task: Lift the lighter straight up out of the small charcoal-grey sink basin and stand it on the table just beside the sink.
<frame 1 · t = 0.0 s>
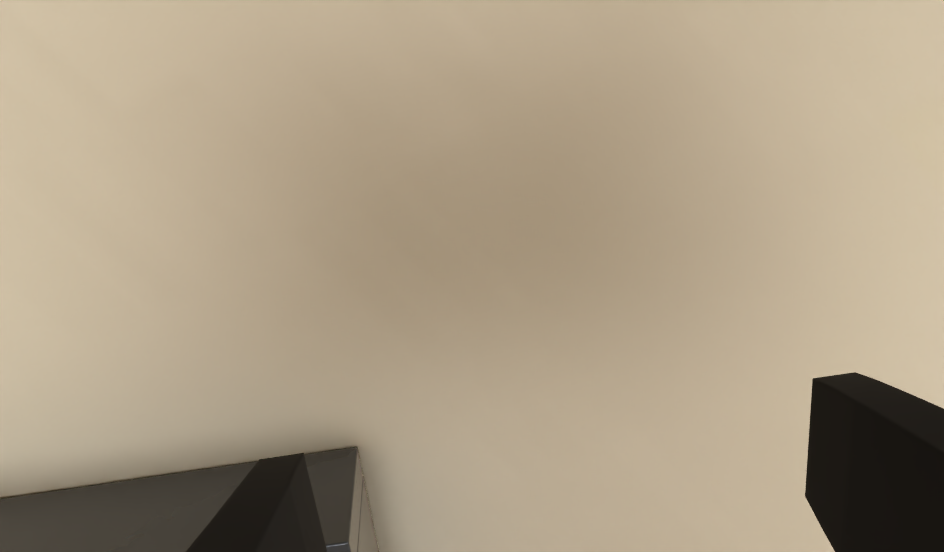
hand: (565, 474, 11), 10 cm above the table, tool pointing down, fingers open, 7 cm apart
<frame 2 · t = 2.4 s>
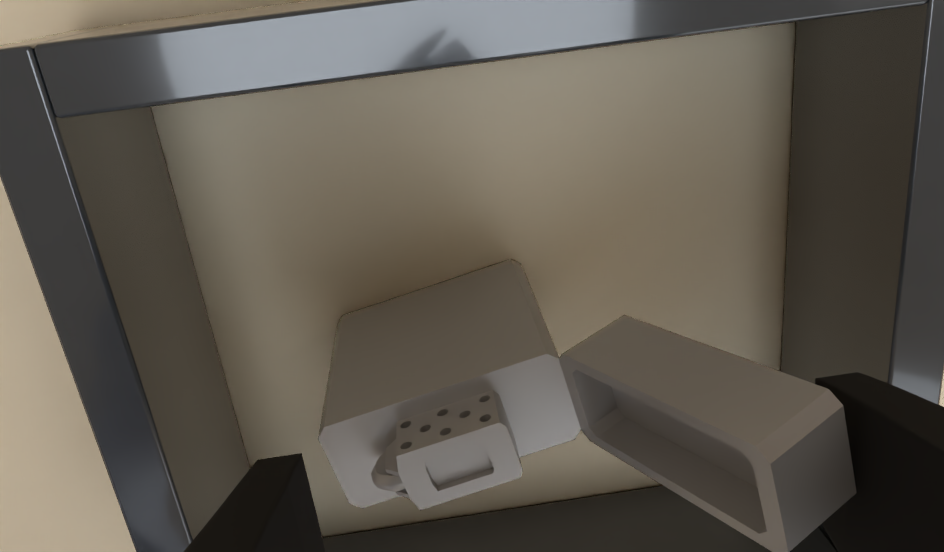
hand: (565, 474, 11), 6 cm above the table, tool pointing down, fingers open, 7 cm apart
lighter: (503, 296, 17), resting in sink, touching gripper
sink: (504, 300, 17), on the table
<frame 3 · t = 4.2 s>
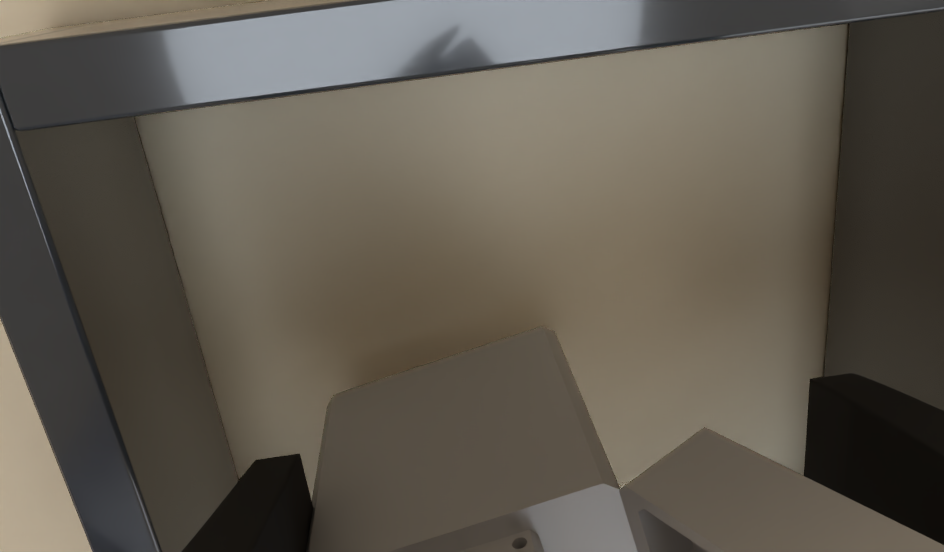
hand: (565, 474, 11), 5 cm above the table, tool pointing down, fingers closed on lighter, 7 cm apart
lighter: (531, 369, 14), point 2 cm above the table, touching gripper
sink: (522, 324, 15), on the table
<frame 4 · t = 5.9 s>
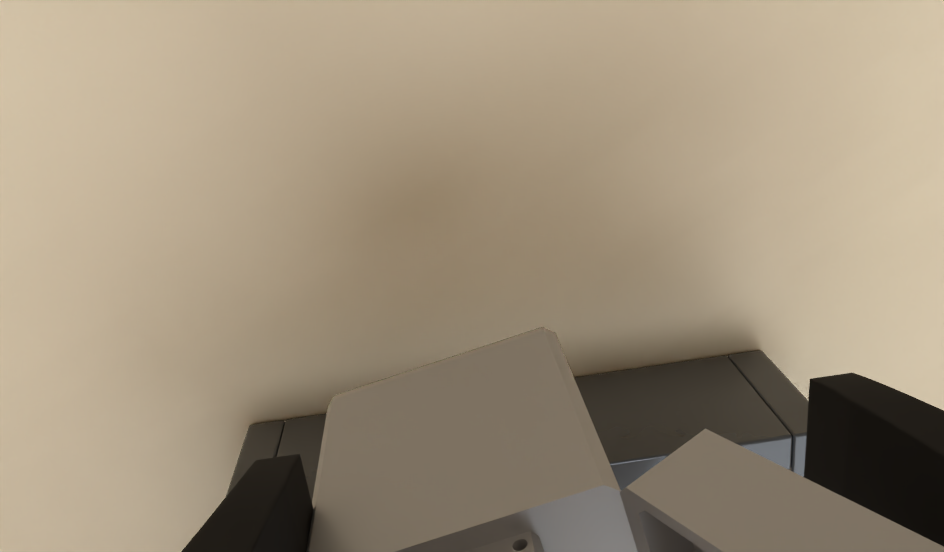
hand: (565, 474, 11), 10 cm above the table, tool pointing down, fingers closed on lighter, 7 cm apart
lighter: (532, 370, 14), point 7 cm above the table, touching gripper
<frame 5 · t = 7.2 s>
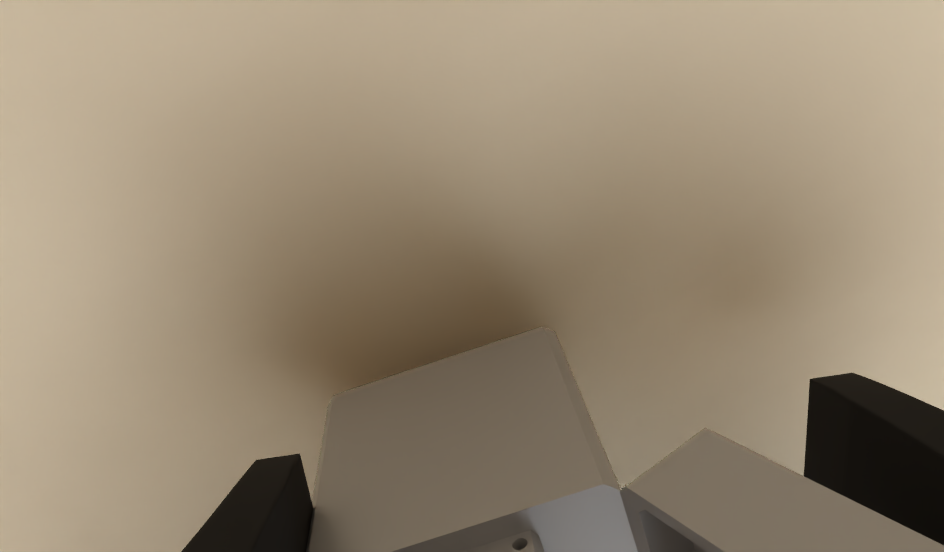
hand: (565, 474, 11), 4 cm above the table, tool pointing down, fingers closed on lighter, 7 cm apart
lighter: (531, 369, 14), point 1 cm above the table, touching gripper
when the fingers open (3 cm above the table, at t = 8.7 s): lighter stays where it is, on the table.
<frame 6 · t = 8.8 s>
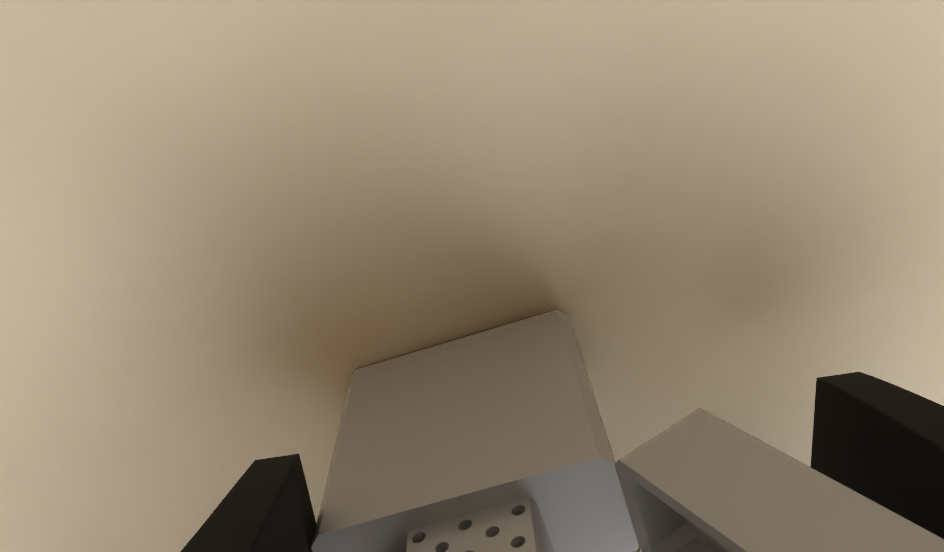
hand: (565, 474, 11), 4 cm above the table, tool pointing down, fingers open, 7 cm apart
lighter: (546, 351, 14), on the table, touching gripper
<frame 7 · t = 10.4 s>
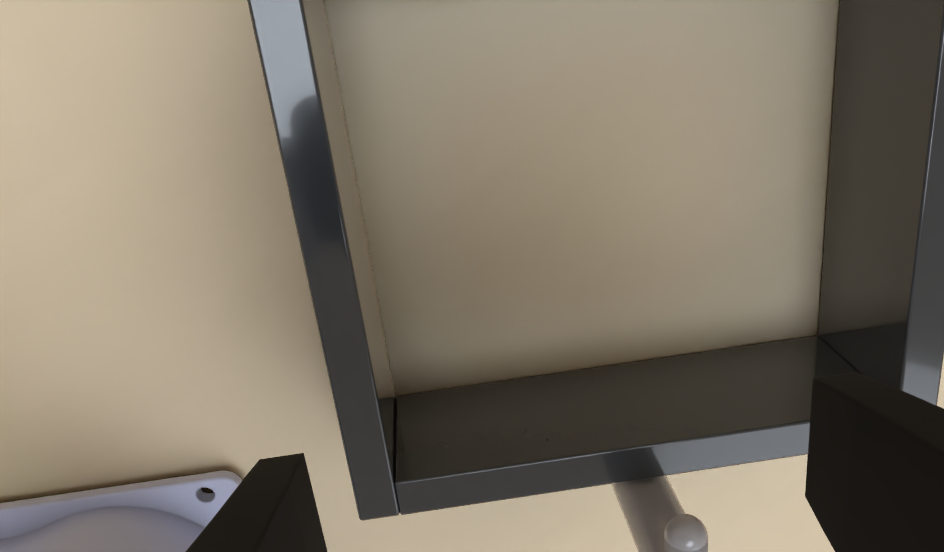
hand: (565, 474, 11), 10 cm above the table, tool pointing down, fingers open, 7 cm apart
sink: (598, 181, 20), on the table
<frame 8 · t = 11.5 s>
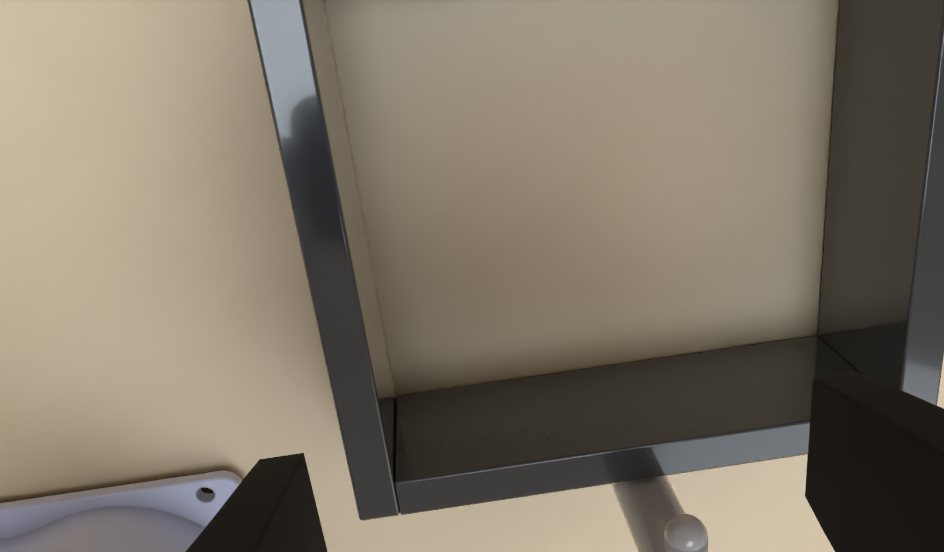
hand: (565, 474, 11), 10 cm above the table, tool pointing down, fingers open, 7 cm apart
sink: (598, 181, 20), on the table
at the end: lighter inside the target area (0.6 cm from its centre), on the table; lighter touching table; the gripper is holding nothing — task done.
